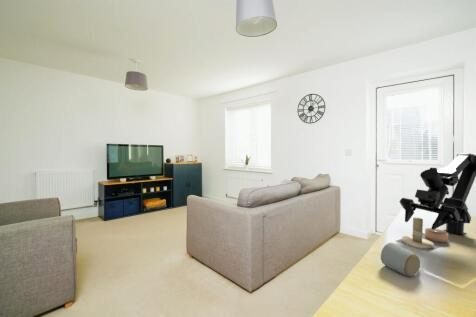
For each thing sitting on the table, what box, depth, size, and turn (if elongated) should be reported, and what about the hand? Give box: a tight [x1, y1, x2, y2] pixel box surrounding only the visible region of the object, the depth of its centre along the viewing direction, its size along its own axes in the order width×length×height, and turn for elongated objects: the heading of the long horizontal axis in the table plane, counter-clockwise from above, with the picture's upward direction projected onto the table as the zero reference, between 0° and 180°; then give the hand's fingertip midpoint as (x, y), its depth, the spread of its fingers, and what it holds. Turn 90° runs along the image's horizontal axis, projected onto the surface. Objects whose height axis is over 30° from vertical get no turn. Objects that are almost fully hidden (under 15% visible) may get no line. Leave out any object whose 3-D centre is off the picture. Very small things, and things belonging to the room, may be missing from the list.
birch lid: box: [401, 217, 434, 250], centre depth 89 cm, size 10×10×10 cm
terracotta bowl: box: [424, 227, 449, 243], centre depth 93 cm, size 7×7×4 cm
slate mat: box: [396, 232, 453, 253], centre depth 92 cm, size 20×11×1 cm, turn 117°
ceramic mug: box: [380, 242, 421, 277], centre depth 71 cm, size 11×8×8 cm
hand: (418, 225), depth 89 cm, fingers open, 9 cm apart
